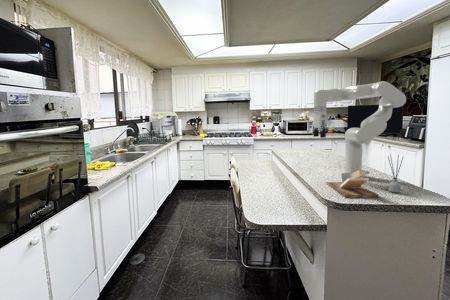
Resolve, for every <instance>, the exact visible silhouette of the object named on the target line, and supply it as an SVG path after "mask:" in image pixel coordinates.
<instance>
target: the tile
mask: <svg viewBox="0 0 450 300" xmlns="http://www.w3.org/2000/svg"><path fill="white" fill-rule="evenodd" d="M369 180H370V178H369V177H363V178H348V179H347V180H346V181H345V182H343V183H342V184H341V185H340V188H357V187H360V186H362V187H363V185H364V184H365V183H367V182H369Z"/></svg>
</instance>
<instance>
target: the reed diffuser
mask: <svg viewBox="0 0 450 300" xmlns="http://www.w3.org/2000/svg"><path fill="white" fill-rule="evenodd" d="M390 157H392V154H391V153H390ZM390 157H389V156H387V158H388V161H389V164H390V165H389V166H390V170H391V172H392V173H391V174H392V176H393V177H392V181H391V182H389V183H388V185H386V186H385V190H387V191H389V192H392V193H400V191H401V184H400V183H399V182H398V175H399V172H400V168H401V166H402V164H403V159H404V157H402V158H401V161H400V165H399V160H397V162H396V163H397V164H396V168H398V169H397V170H396V173H395V171H394V165H393V159H392V158H390ZM397 158H399V154H397ZM398 165H399V167H398Z"/></svg>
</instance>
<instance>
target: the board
mask: <svg viewBox="0 0 450 300" xmlns="http://www.w3.org/2000/svg"><path fill="white" fill-rule="evenodd" d="M325 183H326V184H325ZM324 184H325V185H327V186H328V187H329V188H331V189H332V188H333V189H332V190H334V191H335V192H336V191H337V193H338V194H339V195H341V196H342V197H343V198H345V199H365V198H367V199H370V198H371V199H372V198H373V199H376V198H377V199H378V198H379V197H380V196H379V193H377V192H374V191H372V190H370V189H368V188H366V187H364V186H363V185H362V186H360V187H357V188H340V185H341V184H342V181H340V182H339V181H337V182H336V181H334V182H333V181H331V182H329V181H328V182H324Z"/></svg>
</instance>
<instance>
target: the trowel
mask: <svg viewBox="0 0 450 300" xmlns="http://www.w3.org/2000/svg"><path fill="white" fill-rule="evenodd" d="M365 171H366V170H365V169H361V170H358V171H356V172H354V173H344V172H341V173H340V176H341V182H342V183H343V182H345V181H346V180H347V179H348V178H366V177H367V174H366V172H365Z"/></svg>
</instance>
